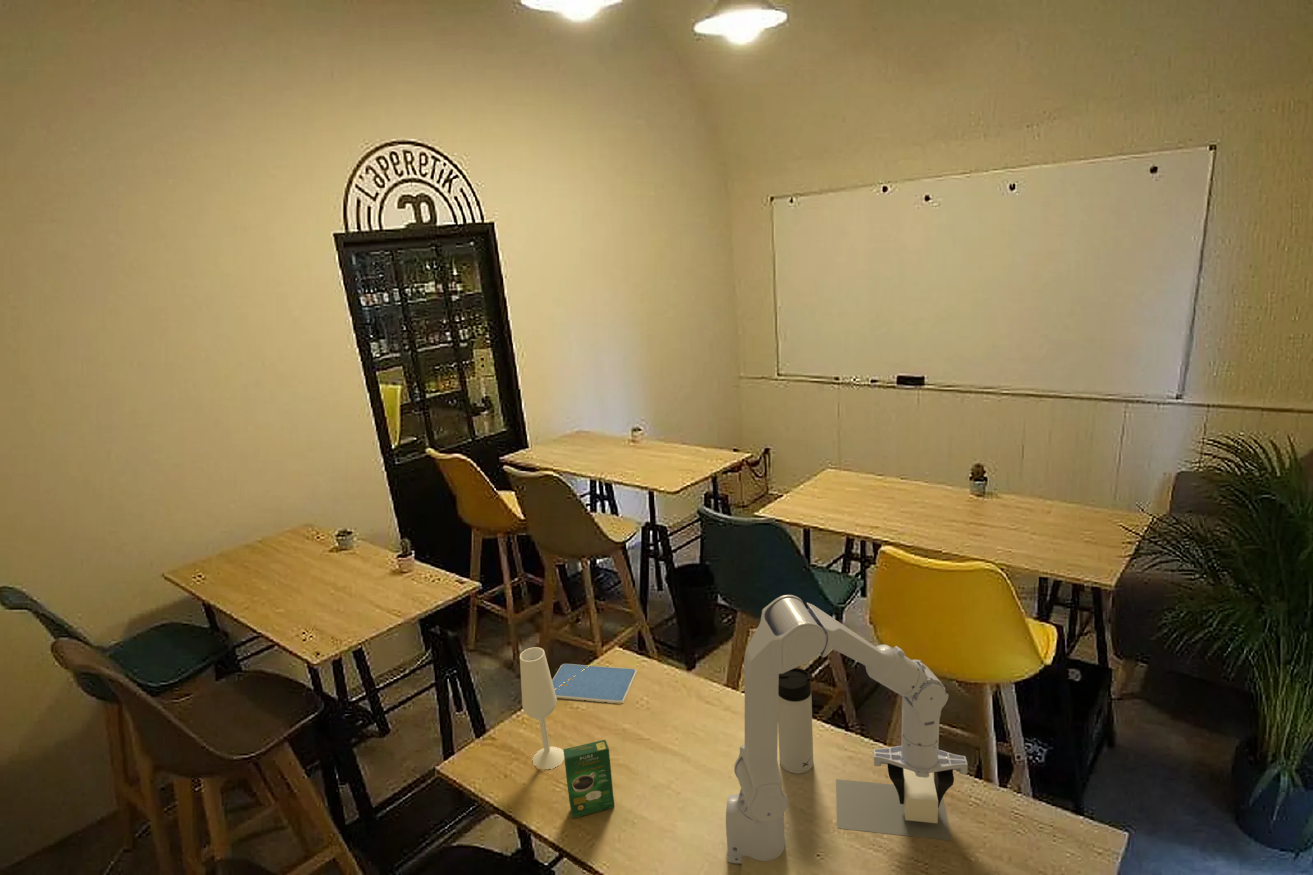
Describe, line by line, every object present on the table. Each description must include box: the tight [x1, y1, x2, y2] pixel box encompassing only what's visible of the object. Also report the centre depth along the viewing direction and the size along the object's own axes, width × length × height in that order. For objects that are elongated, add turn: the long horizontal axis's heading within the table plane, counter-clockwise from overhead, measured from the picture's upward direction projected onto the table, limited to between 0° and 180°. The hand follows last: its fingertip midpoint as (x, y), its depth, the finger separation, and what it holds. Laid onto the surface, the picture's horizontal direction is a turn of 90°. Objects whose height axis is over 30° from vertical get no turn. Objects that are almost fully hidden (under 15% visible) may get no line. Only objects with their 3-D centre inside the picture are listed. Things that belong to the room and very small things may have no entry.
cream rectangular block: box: [903, 768, 938, 823], centre depth 118 cm, size 5×7×4 cm
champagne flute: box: [519, 646, 565, 770], centre depth 137 cm, size 7×7×24 cm
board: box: [835, 778, 953, 842], centre depth 120 cm, size 18×11×4 cm, turn 77°
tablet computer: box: [552, 663, 638, 704], centre depth 162 cm, size 19×13×1 cm, turn 76°
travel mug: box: [778, 667, 814, 775], centre depth 130 cm, size 6×7×20 cm
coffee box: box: [563, 739, 615, 819], centre depth 125 cm, size 8×3×13 cm, turn 104°
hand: (918, 801), depth 118 cm, fingers closed on cream rectangular block, 5 cm apart
